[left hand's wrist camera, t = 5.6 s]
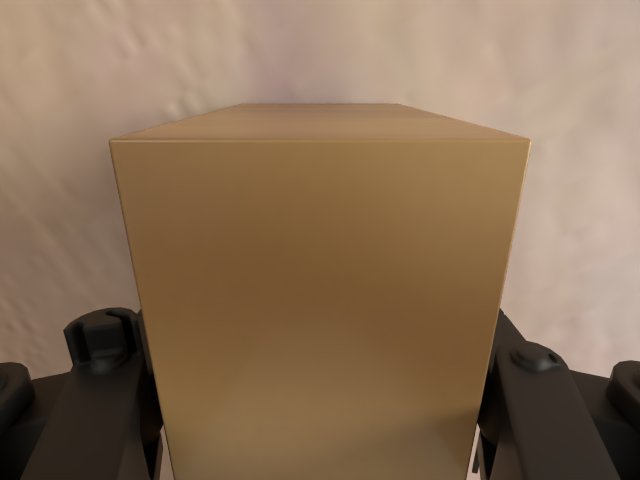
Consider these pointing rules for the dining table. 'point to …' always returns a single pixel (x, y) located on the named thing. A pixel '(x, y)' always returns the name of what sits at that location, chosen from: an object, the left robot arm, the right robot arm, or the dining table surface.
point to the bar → (320, 285)
